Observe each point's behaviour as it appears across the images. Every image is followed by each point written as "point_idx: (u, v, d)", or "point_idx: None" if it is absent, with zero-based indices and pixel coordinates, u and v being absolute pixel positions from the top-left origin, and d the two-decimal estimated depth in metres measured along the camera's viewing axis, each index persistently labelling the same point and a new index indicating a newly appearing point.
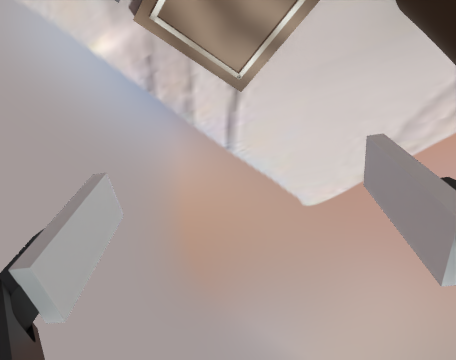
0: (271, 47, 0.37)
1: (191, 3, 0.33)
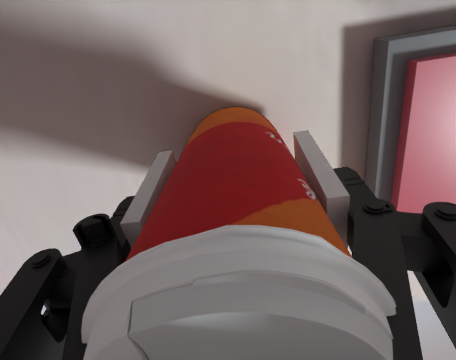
0: None
1: None
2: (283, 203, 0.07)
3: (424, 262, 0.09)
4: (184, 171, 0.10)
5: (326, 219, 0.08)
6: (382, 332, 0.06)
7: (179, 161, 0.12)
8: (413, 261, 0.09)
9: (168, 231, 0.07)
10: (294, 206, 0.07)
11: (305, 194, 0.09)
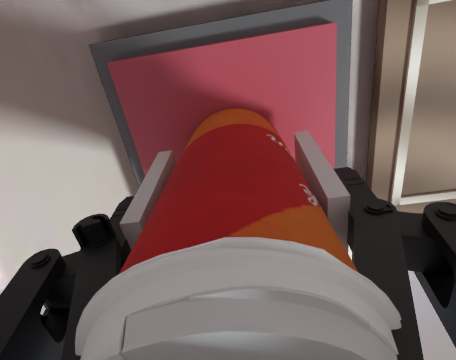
0: None
1: (445, 147, 0.19)
2: (284, 211, 0.07)
3: (424, 262, 0.09)
4: (182, 176, 0.10)
5: (328, 226, 0.08)
6: (387, 349, 0.05)
7: (178, 164, 0.12)
8: (413, 261, 0.09)
9: (165, 240, 0.06)
10: (295, 214, 0.07)
11: (307, 200, 0.08)
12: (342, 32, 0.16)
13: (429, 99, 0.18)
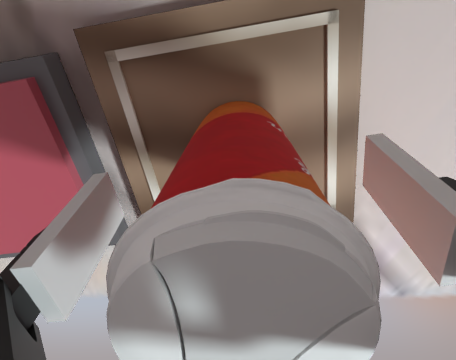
0: (345, 137, 0.19)
1: None
2: (280, 171, 0.09)
3: None
4: (193, 150, 0.11)
5: (318, 189, 0.09)
6: (360, 269, 0.07)
7: (188, 145, 0.13)
8: None
9: (182, 190, 0.08)
10: (289, 174, 0.09)
11: (300, 169, 0.10)
12: (47, 85, 0.18)
13: (159, 139, 0.20)
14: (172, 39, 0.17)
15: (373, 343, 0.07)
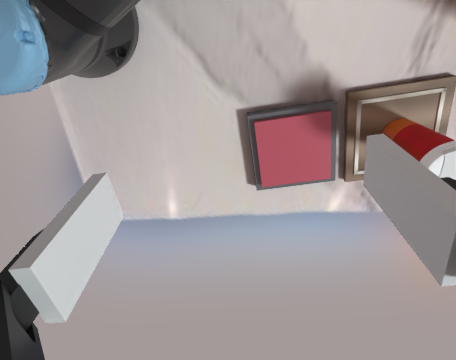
0: (441, 132, 0.49)
1: None
2: (454, 140, 0.38)
3: None
4: (419, 136, 0.41)
5: None
6: None
7: (405, 135, 0.43)
8: None
9: (437, 144, 0.37)
10: None
11: None
12: (333, 112, 0.47)
13: (365, 133, 0.49)
14: (384, 96, 0.46)
15: None
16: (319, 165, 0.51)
